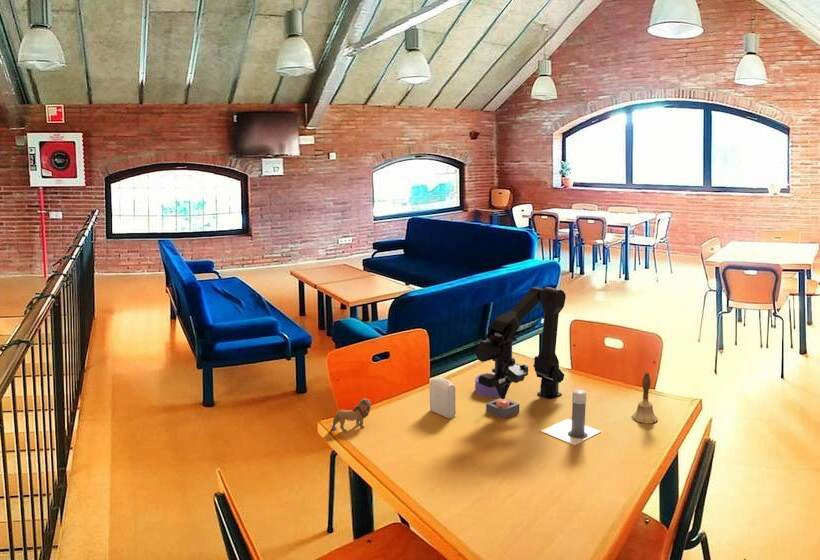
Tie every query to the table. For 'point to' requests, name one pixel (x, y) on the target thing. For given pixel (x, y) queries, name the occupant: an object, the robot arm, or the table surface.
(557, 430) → the notepad
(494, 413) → the button box
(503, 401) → the button
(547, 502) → the table surface
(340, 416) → the lion figurine
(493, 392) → the tape roll
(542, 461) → the table surface
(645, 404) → the hand bell
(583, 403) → the marker
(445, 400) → the photo printer
